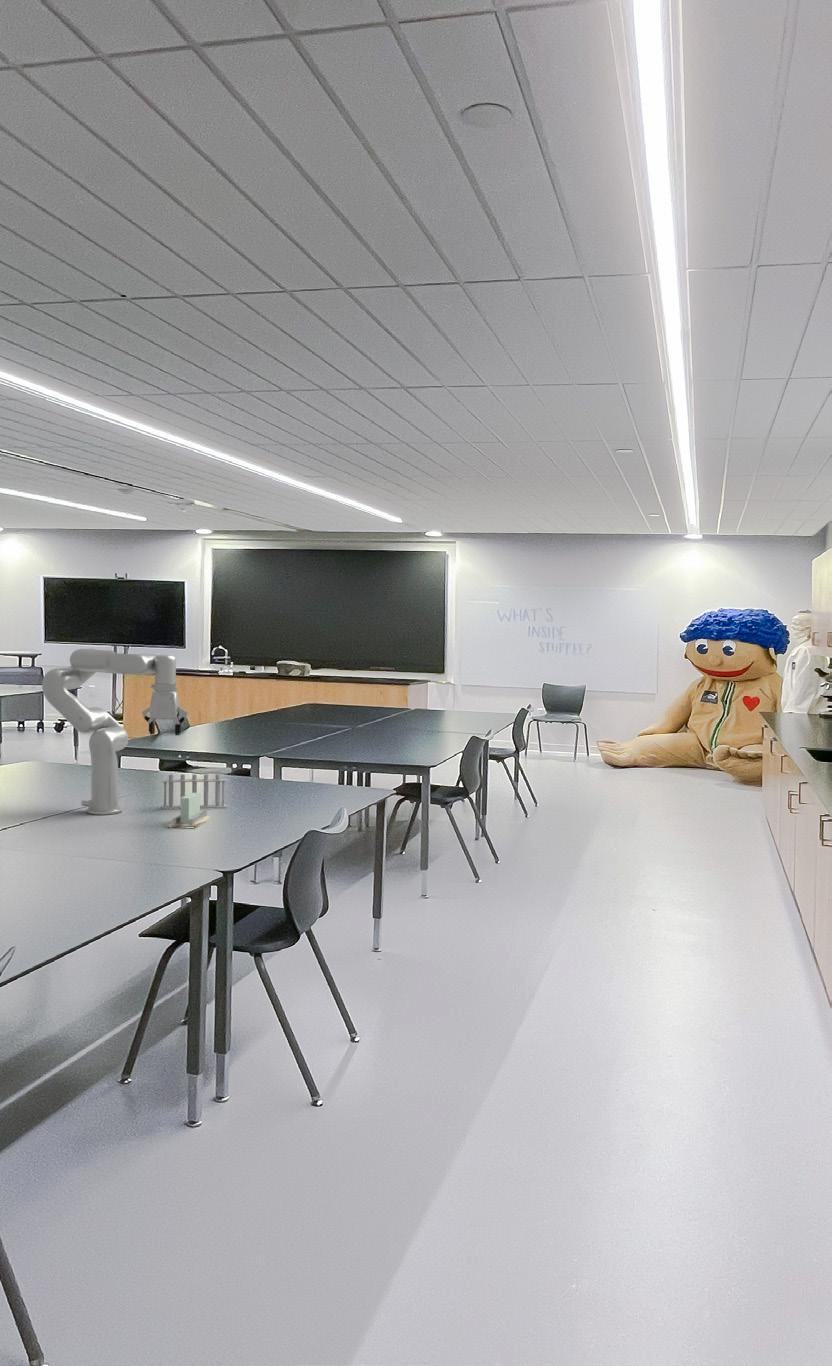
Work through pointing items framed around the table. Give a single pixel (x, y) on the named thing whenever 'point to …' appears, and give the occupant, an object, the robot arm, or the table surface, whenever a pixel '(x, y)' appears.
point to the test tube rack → (195, 790)
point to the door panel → (189, 807)
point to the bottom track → (191, 820)
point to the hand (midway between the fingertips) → (164, 734)
